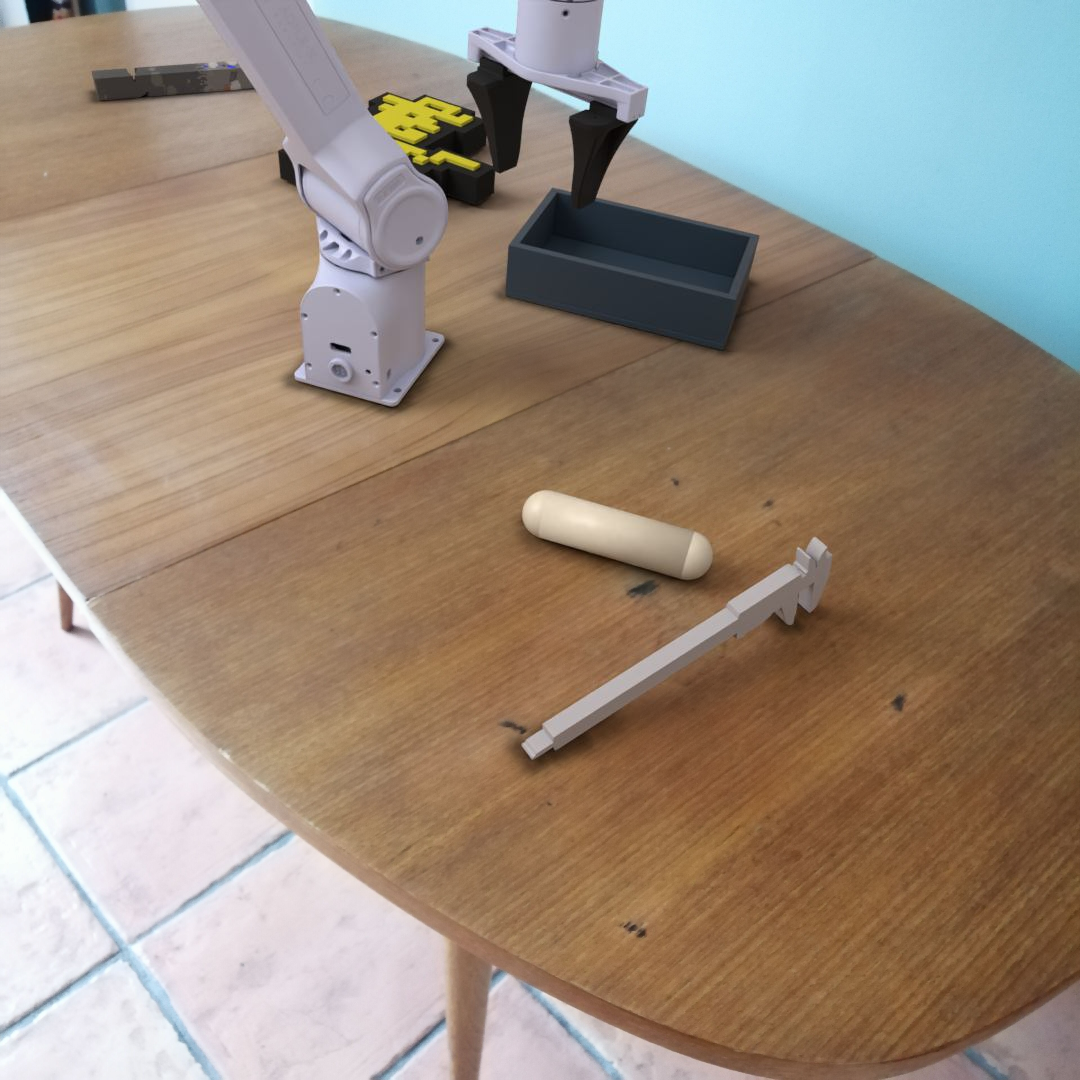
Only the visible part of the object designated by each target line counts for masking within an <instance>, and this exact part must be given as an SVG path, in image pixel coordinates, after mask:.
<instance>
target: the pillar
mask: <svg viewBox="0 0 1080 1080" xmlns="http://www.w3.org/2000/svg"><path fill="white" fill-rule="evenodd" d="M133 69H134V73H135V75H132V74H131V73H130V72H129V71H128V69H127V68H125V67H124V68H111V69H98V70H90V71H91V76H92V80H93V85H94V89H95V95H96V96H97V100H98V101H112V100H124V99H136V98H142V97H143V96H147V97H161V96H175V95H183V94H184V95H187V94H199V93H211V92H222V91H223V92H225V91H234V90H235V91H236V90H248V89H255V88H254V87H253V85H252V84H251V82H250V81H249V79H248V78H247V76H246V75H245V73H244V72H243V70H242V69H241V67H240V66H239V64H238V63H237V61H236V60H226V61H225V60H224V61H211V62H199V63H184V64H183V63H182V64H171V65H170V64H169V65H167V64H166V65H155V66H153V65H152V66H141V67H140V66H139V67H134V68H133Z"/></svg>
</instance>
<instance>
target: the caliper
mask: <svg viewBox="0 0 1080 1080" xmlns="http://www.w3.org/2000/svg"><path fill="white" fill-rule="evenodd" d="M795 551H796V552H795V560H794V562H792V563H793V564H790V563H786V564H785V565H783V566H781V567H780V568H779V569H777V570H775V571H774V572H772V573H771V574H769V575H768V576H766V577H765V578H763V579H761V580H759V581H758V582H757V583H755V584H754V585H752V586H750V587H749V588H748V589H746V590H744V591H743V592H741V593H739V594H738V595H737V596H735V597H734V598H732V599H730V600H729V601H728V602H727V603H726V605H725V607H724V608H723V609H721V610H720V611H718V612H716V613H715V614H713V615H711V616H710V617H708V618H707V619H706V620H703V621H702V622H701V623H699V624H697V625H696V626H694V627H693V628H691V629H689V630H688V631H686V632H684V634H682V635H680V636H679V637H677V638H675V639H673V640H672V641H670V642H669V643H668V644H666V645H663V647H661V648H659V649H658V650H656V651H655V652H653V653H652V654H650V655H648V656H647V657H645V658H644V659H642V660H641V661H639V662H637V663H636V664H634V665H633V666H631V667H629V668H627V669H626V670H624V671H623V672H622V673H620V674H618V675H617V676H616V677H613V678H612V679H611V680H608V681H607V682H606V683H604V684H602V685H601V686H599V687H597V688H596V689H595V690H593V691H592V692H590V693H588V694H587V695H585V696H583V697H582V698H581V699H579V700H577V701H576V702H574V703H573V704H571V705H570V706H567V707H566V708H565V709H562V711H560V712H559V713H557V714H555V715H553V716H552V717H550V719H548V720H546V721H544V722H543V723H542V729H540V730H538V731H537V732H535V733H534V734H532V735H531V736H529V737H528V738H526V739H525V741H524V742H522V743H521V747H522V748H523V750H524V751H525V752H526V754H527V755H528V757H529V758H530V759H531V760H535V759H537V758H539V757H540V756H542V755H544V754H545V753H546V752H548V751H550V750H551V749H553V750H554V751H557V750H560V749H561V748H563V747H564V746H565V745H567V744H568V743H570V742H572V741H573V740H575V739H576V738H577V737H579V736H580V735H582V734H584V733H585V732H587V731H588V730H590V729H592V728H593V727H595V726H596V725H597V724H599V723H601V722H602V721H604V720H605V719H606V718H609V717H610V716H611V715H613V714H614V713H616V712H617V711H619V710H620V709H622V708H624V707H625V706H627V705H628V704H630V703H631V702H632V701H634V700H636V699H638V698H639V697H640V696H642V695H643V694H645V693H646V692H648V691H649V690H652V689H653V688H654V687H656V686H657V685H659V684H660V683H662V682H663V681H665V680H667V679H669V678H670V677H671V676H673V675H674V674H676V673H678V672H679V671H681V670H682V669H684V668H685V667H687V666H688V665H690V664H692V663H693V662H695V661H696V660H698V659H699V658H701V657H703V656H704V655H705V654H707V653H708V652H711V650H713V649H715V648H716V647H718V646H719V645H721V644H722V643H725V642H726V641H728V640H729V639H731V638H732V637H734V639H736V640H740V639H741V638H743V637H744V636H745V635H746V634H748V633H749V632H750V631H752V630H754V629H756V628H758V627H759V626H761V625H762V624H763V623H765V621H767V620H768V619H770V617H772V616H773V615H772V614H773V613H775V614H776V615H777V617H779V618H780V619H781V620H782V621H783V622H784V623H785V624H786V625H787V626H788V625H789V626H792V625H794V622H795V617H796V614H797V611H798V610H797V609H798V604H799V605H800V606H801V607H802V608H803V609H804V610H805V611H807V612H808V613H809V614H811V613H812V611H814V610H815V608H817V607H818V604H819V602H820V600H821V597H822V595H823V592H824V590H825V588H826V585H827V582H828V580H829V578H830V575H831V569H832V563H833V554H832V553H831V552H830V551H829V550H828V546H827V545H826V544H824V543H823V542H822V541H821V540H820V539H819V538H818V537H816V536H813V538H812V539H811V540H810V541H809V543H808V545H807V547H806V549H805V550H804V549H802V548H801V547H800V546H797V548H796V550H795Z"/></svg>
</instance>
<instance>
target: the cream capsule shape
mask: <svg viewBox="0 0 1080 1080" xmlns="http://www.w3.org/2000/svg"><path fill="white" fill-rule="evenodd" d="M521 515H522V516H521V517H522V522H523V524H524V527H525V528H526V530H527V531H528V532H529V533H530V534H532V535H533V536H534V537H537V538H539V539H543V540H546V541H549V542H553V543H555V544H556V543H557V544H560V545H563V546H566V547H570V548H574V549H578V550H579V551H580V550H581V551H584V552H587V553H591V554H595V555H598V556H601V557H605V558H608V559H611V560H614V561H619V562H621V563H625V564H629V565H632V566H635V567H638V568H642V569H646V570H649V571H652V572H655V573H658V574H663V575H665V576H669V577H672V578H676V579H680V580H684V581H691V580H696V579H699V578H700V577H702V576H704V575H705V574H706V573H707V572H708V571H709V569H710V568H711V565H712V563H713V559H714V552H713V547H712V545H711V542H710V541H709V540H708V538H707V537H706V536H704V535H703V534H702V533H700V532H698V531H696V530H692V529H690V528H689V529H688V528H686V527H681V526H678V525H674V524H671V523H668V522H664V521H661V520H657V519H654V518H653V519H652V518H651V517H646V516H642V515H639V514H635V513H632V512H628V511H625V510H621V509H618V508H614V507H611V506H607V505H603V504H601V503H597V502H593V501H589V500H586V499H582V498H579V497H577V496H576V497H575V496H572V495H568V494H566V493H562V492H558V491H555V490H548V489H546V490H545V489H542V490H538V491H537V492H534V493H533V494H531V495H530V496H529V497H528V498H527V499H526V501H525V502H524V504H523V507H522V512H521Z"/></svg>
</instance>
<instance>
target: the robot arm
mask: <svg viewBox="0 0 1080 1080" xmlns="http://www.w3.org/2000/svg"><path fill="white" fill-rule="evenodd" d="M195 2H196V3H197V4H198V6H199V7H200V9H201V11H202V12H203V13H204V15H205V16H206V18H207V19H208V21H209V22H210V24H211V26H212V27H213V28H214V30H215V32H216V33H217V34H218V36H219V37H220V39H221V41H222V42H223V43H224V45H225V46H226V47H227V49H228V51H229V52H230V53H231V55H232V57H233V58H234V61H237V63H238V64H239V66H240V67H241V69H242V70H243V72H244V73H245V75H246V76H247V78H248V79H249V81H250V82H251V84H252V85H253V87H254V88H253V89H254V90H255V91H256V93H257V94H258V96H259V97H260V99H261V100H262V101H263V103H264V104H265V106H266V108H267V109H268V111H269V112H270V113H271V115H272V117H273V118H274V119H275V121H276V122H277V124H278V126H279V127H280V129H281V130H282V132H283V133H284V135H285V138H284V139H283V141H282V144H281V147H282V149H283V148H284V150H285V151H286V153H287V154H288V156H289V158H290V159H291V161H292V163H293V167H294V170H295V177H296V184H295V185H296V189H297V193H298V195H299V197H300V200H301V201H302V203H303V204H304V205H305V206H306V208H308V209H309V211H311V212H313V213H314V214H316V215H315V221H316V231H317V233H318V245H319V246H318V248H319V251H318V252H319V261H318V267H317V272H316V275H315V277H314V279H313V281H312V284H311V285H310V286H309V288H308V290H307V291H306V292H305V293H304V295H303V297H302V299H301V302H300V306H299V319H300V321H299V322H300V330H301V331H300V332H301V340H302V341H301V342H302V351H303V353H302V354H303V362H302V364H301V365H300V366H299V367H298V368H297V369H296V370H295V371H294V379H295V380H296V381H298V382H301V383H305V384H308V385H312V386H315V387H317V388H323V389H326V390H329V391H333V392H336V393H340V394H344V395H349V396H351V397H355V398H359V399H362V400H365V401H370V402H374V403H377V404H381V405H384V406H387V407H396V406H398V405H399V404H400V402H401V401H402V399H403V398H404V397H405V396H406V394H407V393H408V391H410V389H411V388H412V386H413V385H414V383H415V382H416V381H417V380H418V379H419V377H420V375H421V374H422V373H423V372H424V370H425V369H426V368H427V366H428V365H429V364H430V362H431V361H432V360H433V358H434V357H435V355H437V353H438V351H440V349H441V348H442V346H443V344H444V343H445V340H446V339H445V338H446V337H445V335H443V334H442V333H438V332H434V331H430V330H428V329H427V330H426V275H427V274H426V273H427V272H426V267H427V266H426V263H428V262H430V260H431V259H430V257H431V255H432V254H433V253H434V251H435V250H436V249H437V248H438V246H439V245H440V242H441V241H442V240H443V237H444V235H445V232H446V229H447V225H448V221H449V204H448V200H447V197H446V196H445V194H444V192H443V190H442V189H441V187H440V186H439V185H438V184H437V183H436V182H435V181H433V180H432V179H430V178H428V177H427V176H425V175H423V174H421V173H419V172H418V171H417V170H416V169H415V168H414V167H413V165H412V163H411V162H410V160H409V158H408V156H407V154H406V153H405V152H404V151H403V149H402V148H401V147H400V146H399V145H398V144H397V143H396V141H395V140H394V139H393V138H392V137H391V136H390V135H389V134H388V133H387V132H386V130H385V129H384V128H383V127H382V126H381V125H380V124H379V123H378V122H377V121H376V119H375V118H374V117H373V116H372V115H371V114H370V112H369V111H368V109H367V108H368V107H367V105H366V103H365V101H364V100H363V98H362V96H361V95H360V93H359V91H358V89H357V87H356V85H355V84H354V83H353V82H354V81H352V78H351V77H350V75H349V73H348V72H347V70H346V68H345V67H344V65H343V63H342V61H341V59H340V57H339V56H338V54H337V52H336V49H335V48H334V47H333V45H332V43H331V41H330V39H329V37H328V36H327V33H326V32H325V30H324V29H323V27H322V25H321V23H320V21H319V19H318V18H317V16H316V15H315V13H314V11H313V9H312V7H311V6H310V4H309V2H308V0H195ZM604 4H605V0H517V9H516V10H517V11H516V26H515V33H511V32H507V31H502V30H499V29H495V28H492V27H490V26H482V27H480V28H476V29H473V30H470V31H469V30H468V31H467V33H468V34H467V57H466V58H467V60H468V61H470V62H473V63H476V64H479V66H477V67H476V70H475V71H472V72H469V73H467V74H466V87H467V89H468V91H469V93H470V94H471V96H472V98H473V101H474V102H475V104H476V107H477V109H478V112H479V114H480V118H482V121H483V124H484V127H485V131H486V135H487V138H486V140H487V144H488V148H489V153H490V158H491V165H492V166H493V169H494V171H495V173H497V174H503V173H505V172H507V171H509V170H512V169H514V168H516V167H517V166H518V162H519V159H520V155H521V145H522V137H523V136H522V135H523V125H524V118H525V112H526V108H527V104H528V101H529V95H530V93H531V88H532V86H533V83H534V84H538V85H541V86H545V87H547V88H550V89H553V90H555V91H557V92H560V93H563V94H565V95H568V96H570V97H573V98H575V99H578V100H580V101H583V102H585V103H588V104H589V107H588V109H587V108H586V109H584V110H581V111H578V112H576V113H573V114H571V115H569V117H568V124H569V129H570V130H569V131H570V134H571V143H572V151H573V154H572V155H573V167H572V168H573V169H572V179H571V189H570V192H571V203H572V207H574V208H577V209H582V208H584V207H586V206H588V205H590V204H592V203H594V202H595V199H596V198H597V196H598V193H599V192H600V188H601V185H602V183H603V181H604V178H605V176H606V173H607V171H608V169H609V167H610V164H611V162H612V160H613V159H614V157H615V155H616V153H617V152H618V149H620V147H621V145H622V144H623V142H624V141H625V139H626V137H627V136H628V134H629V133H630V132H631V130H632V129H633V128H634V127H635V125H636V124H637V123H638V122H639V119H640V118H643V117H644V116H645V114H646V106H647V100H648V94H649V87H648V86H646V85H643V84H641V83H639V82H637V81H635V80H633V79H631V78H630V77H628V76H626V75H624V74H623V73H621V72H620V71H618V70H617V69H615V68H614V67H612V66H611V65H609V64H607V62H605V61H603V60H602V59H600V58H599V55H600V54H599V53H600V51H599V43H600V36H601V28H602V21H603V19H602V18H603V13H604V12H603V11H604Z"/></svg>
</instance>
